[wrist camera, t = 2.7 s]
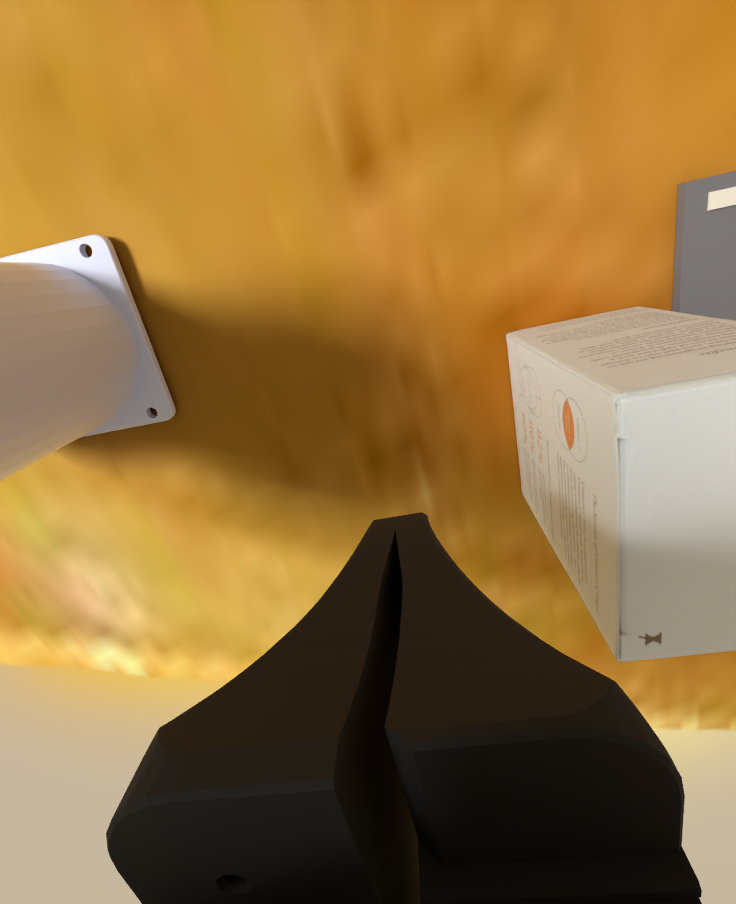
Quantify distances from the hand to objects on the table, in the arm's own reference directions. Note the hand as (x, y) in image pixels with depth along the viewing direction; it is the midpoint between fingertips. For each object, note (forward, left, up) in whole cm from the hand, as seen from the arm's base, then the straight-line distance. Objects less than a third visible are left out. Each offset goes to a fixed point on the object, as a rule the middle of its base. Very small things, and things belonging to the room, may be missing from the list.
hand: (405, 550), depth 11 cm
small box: (+8, -1, -11) cm, 13 cm away
